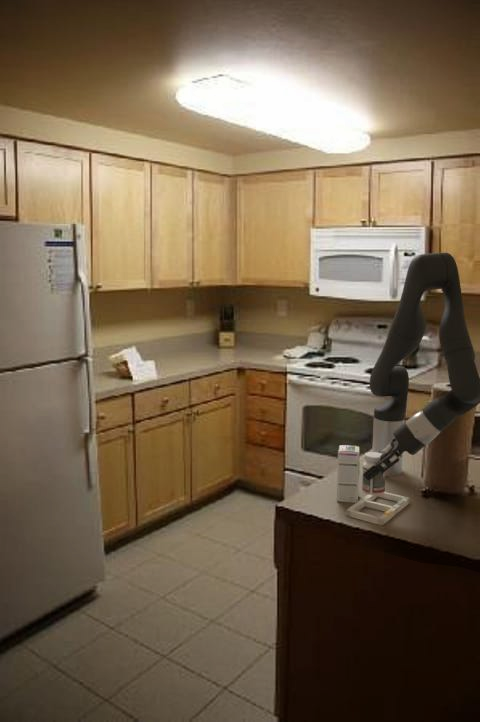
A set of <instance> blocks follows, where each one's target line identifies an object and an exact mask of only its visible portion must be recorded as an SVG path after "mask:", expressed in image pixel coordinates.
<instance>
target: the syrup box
mask: <svg viewBox="0 0 480 722" xmlns="http://www.w3.org/2000/svg"><path fill="white" fill-rule="evenodd" d="M360 448H361V447H360V446H359V445H353V444H351V445H349V444H342V445H341V444H340V445H339V446H338V451H337V478H336V479H337V482H336V483H337V485H336V487H337V488H336V491H337V492H336V501H337V502H342V503H351V504H355V503H357V502H358V501H359V493H360V491H359V490H360Z"/></svg>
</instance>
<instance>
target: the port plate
mask: <svg viewBox="0 0 480 722" xmlns="http://www.w3.org/2000/svg"><path fill="white" fill-rule="evenodd" d="M377 498H380V499H386V500H390V501H393V502H397V503H395V504H394V505H393V506H392V505H388V504H384V503H380V502H375V501H374V500H375V499H377ZM409 504H410V497H407V496H403V495H400V494H395V493H390V492H387V491H385V492H384V493H383V494H381V495H369V494H366V495H365V496H364V497H362V498H361V499H360V500H358V502H357V503H353V504H352V505H351V506H350V507H348V508H347V509H346V510H345V516H347V517H349V518H353V519H354V518H355V519H358V520H361V521H364V522H365V521H366V522H369V523H371V524H376V525H378V526H379V525H380V526H384V524H386V523H387V522H389V520H391V519H392V518H393V517H394V516H396V515H397V514H398V513H399V512H401V511H402V510H403V509H404V508H405V507H406V506H408V505H409ZM364 507H366V508H370V509H374V510H377V511H381V512H383V514H382V515H380V516H377V515H376V516H375V515H373V514H370V513H369V514H368V513H365V512H361V510H362V509H363V508H364Z"/></svg>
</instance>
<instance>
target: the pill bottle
mask: <svg viewBox="0 0 480 722" xmlns="http://www.w3.org/2000/svg"><path fill="white" fill-rule="evenodd" d="M380 455H382V453H378V452H372V451H369V452H366V453H365V454H364V459H365V461H364V462H363V464H362V485H361V486H362V487H361V488H362V489H361V491H362V493H364V494H366V495H368V494H369V495H381V494H383V493H384V492H386V476H385V472H384V473H380V472H379V473H378V474H377V475H376V476H375V477H373V478H372V479H371V480H367V479H366V478H365V477H364V475H363V474H364V473H365V472H366V471H367V470H368V469H369V468H371V467H372V466H373V465H374V464H375V463H376V462H377V461H378V460H379V457H380ZM384 465H385V464H384V463H382V464H381V466H382V467H383V466H384Z"/></svg>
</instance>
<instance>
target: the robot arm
mask: <svg viewBox="0 0 480 722" xmlns="http://www.w3.org/2000/svg"><path fill="white" fill-rule="evenodd" d="M457 264H458V263H457V262H456V260H455V257H454V256H453V255H452V254H451V253H449V252H434V253H432V252H431V253H423V254H418V255H415V256H414V257H413V258H412V259H411V261H410V263H409V265H408V267H407V272H406V276H405V279H404V285H403V289H402V293H401V297H400V299H399V303H398V305H397V309H396V312H395V315H394V317H393V320H392V322H391V324H390V327H389V330H388V333H387V337H386V340H385V343H384V345H383V347H382V349H381V352H380V354H379V356H378V358H377V361H376V363H375V364H374V366H373V368H372V371H371V373H370V375H369V376H370V378H369V389H370V390H369V391H370V392H371V393H372V395H374V396H376V397H380V398H381V397H384V398H385V397H390V399H389V400H387V401H386V402H384V403H382V404H379V405H377V406H376V407H375V408H374V410H373V425H372V427H373V428H372V430H373V432H372V448H371V449H372V450H371V452H378V453H382V455H380V457H379V460H378V461H377V462H376V463H375V464H374V465H373V466H372V467H371V468H369V469H368V470H367V471H366V472H365V473H364V474H363V473H362V476H363V475H364V477H365V478H366V479H367V480H371V479H372V478H373V477H375V476H376V475H377V474H378V473H379V472H380V473H384V472H385V477H397V476H400V475H402V473H403V461H404V460H403V456H404V455H403V454H404V453H406V452H407V453H408V454H409V455H412V456H414V455H416V454H417V453H418V452H420V451H421V450H422V449H423V448H425V447H426V446H427V445H429V444H430V442H432V441H433V440H434V439H436V438H437V436H438V435H440V433H441V432H443V431H444V430H445V429H446V428H448V426H450V425H452V424H453V422H455V420H457V419H458V418H460V417H461V416H463V415H465V414H467V413H468V412H470V411H472V410H473V409H474V408H476V407H478V405H480V375H479V372H478V368H477V364H476V362H475V360H476V355H475V354H476V353H475V350H474V346H473V343H472V340H471V337H470V333H469V330H468V326H467V323H466V317H465V310H464V303H463V294H462V288H461V279H460V274H459V269H458V265H457ZM435 290H441V291H442V294H443V298H444V310H443V315H442V318H441V321H440V325H439V330H438V338H439V343H440V346H441V347H440V348H441V350H442V353H443V357H444V360H445V362H446V366H447V367H446V368H447V376H448V380H449V381H448V382H449V386H450V389H451V390H449V391H448V392H447V393H445V394H444V395H442V396H439V397H436V398H434V399H433V400H431V401H430V402H429V403H428V404H427V405H425V406H424V407H423V408H422V409H420V410H419V411H418V412H416V413H414V414H413V415H412V416H411V417H410V418H408V419H407V420H406V421H405V417H406V412H407V405H408V402H407V401H408V395H409V385H410V377H409V371H408V370H407V368H406V367H405V366H402V365H398V364H399V363H401V362H402V361H403V360H405V359H406V358H407V357H409V356H410V355H412V354H413V353H414V352H415V351H416V350H417V349H418V348H419V346H420V345H421V343H422V339H423V337H424V336H425V334H426V333H425V332H426V330H427V319H426V317H425V315H424V312H423V310H422V307H421V300H422V298H423V295H424V294H425V292H426V291H435ZM382 463H384V464H385V465H384V466H383V467H382V466H381V464H382Z"/></svg>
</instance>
